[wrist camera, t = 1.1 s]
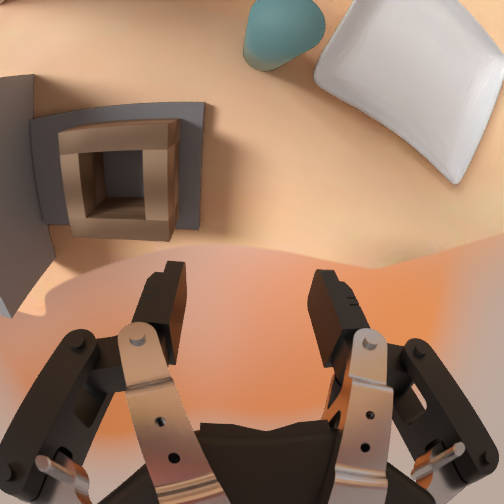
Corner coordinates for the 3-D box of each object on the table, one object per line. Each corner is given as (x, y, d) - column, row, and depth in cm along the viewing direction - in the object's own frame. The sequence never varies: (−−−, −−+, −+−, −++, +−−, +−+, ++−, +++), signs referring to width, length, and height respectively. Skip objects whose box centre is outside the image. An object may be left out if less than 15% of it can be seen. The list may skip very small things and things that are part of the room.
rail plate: (35, 118, 21) (30, 120, 20) (205, 102, 23) (203, 102, 22) (48, 220, 28) (44, 224, 27) (199, 225, 30) (198, 230, 29)
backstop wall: (22, 78, 18) (-53, 92, 8) (34, 74, 18) (-43, 85, 8) (45, 256, 30) (1, 315, 20) (56, 257, 31) (11, 318, 21)
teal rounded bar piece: (245, 31, 19) (252, -14, 9) (288, 36, 20) (328, -1, 10) (240, 68, 21) (245, 48, 11) (284, 73, 22) (321, 60, 12)
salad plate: (373, -50, 13) (386, -60, 10) (494, 60, 18) (511, 62, 15) (299, 82, 23) (307, 81, 20) (441, 179, 28) (458, 189, 25)
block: (85, 123, 22) (58, 132, 17) (180, 118, 22) (168, 124, 18) (93, 214, 27) (72, 236, 23) (179, 216, 28) (169, 241, 24)
